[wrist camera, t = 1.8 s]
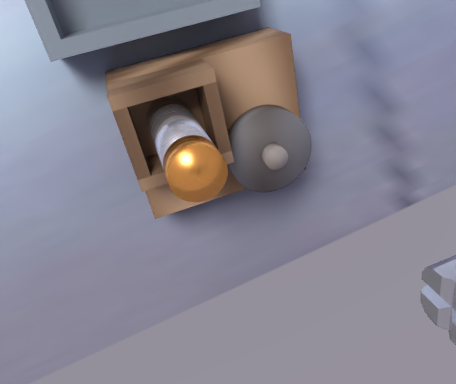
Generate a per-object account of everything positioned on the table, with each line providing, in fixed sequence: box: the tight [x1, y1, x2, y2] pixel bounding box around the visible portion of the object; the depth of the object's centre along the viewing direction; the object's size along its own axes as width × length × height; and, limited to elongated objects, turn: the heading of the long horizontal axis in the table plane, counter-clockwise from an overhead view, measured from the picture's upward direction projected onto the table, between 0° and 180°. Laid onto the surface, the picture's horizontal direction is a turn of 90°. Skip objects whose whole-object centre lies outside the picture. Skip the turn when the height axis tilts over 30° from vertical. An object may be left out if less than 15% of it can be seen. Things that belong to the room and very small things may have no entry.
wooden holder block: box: [105, 28, 311, 219], centre depth 28 cm, size 12×10×7 cm
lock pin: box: [146, 96, 228, 202], centre depth 22 cm, size 3×3×9 cm
